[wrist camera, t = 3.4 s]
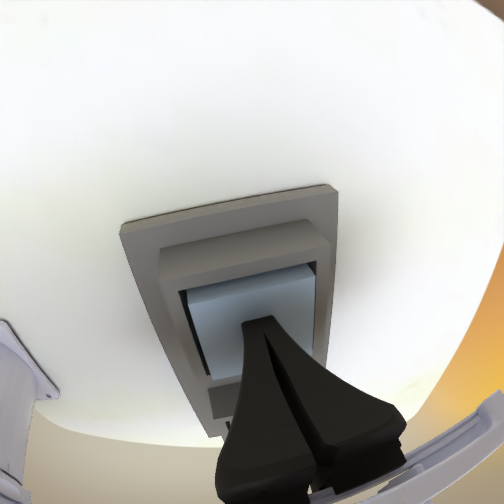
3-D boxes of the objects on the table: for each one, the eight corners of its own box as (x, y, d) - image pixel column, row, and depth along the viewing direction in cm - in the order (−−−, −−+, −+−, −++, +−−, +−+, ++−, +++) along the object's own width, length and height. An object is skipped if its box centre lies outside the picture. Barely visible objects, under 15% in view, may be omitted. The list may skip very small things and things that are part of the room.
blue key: (207, 350, 16) (213, 380, 14) (185, 274, 13) (188, 304, 11) (298, 328, 16) (311, 355, 15) (297, 250, 14) (315, 275, 12)
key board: (207, 428, 24) (214, 462, 21) (122, 224, 13) (109, 265, 10) (315, 401, 25) (329, 432, 22) (328, 184, 15) (366, 213, 12)
